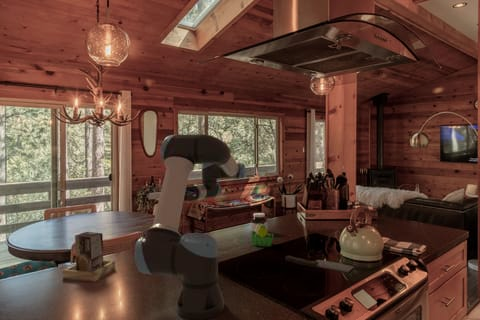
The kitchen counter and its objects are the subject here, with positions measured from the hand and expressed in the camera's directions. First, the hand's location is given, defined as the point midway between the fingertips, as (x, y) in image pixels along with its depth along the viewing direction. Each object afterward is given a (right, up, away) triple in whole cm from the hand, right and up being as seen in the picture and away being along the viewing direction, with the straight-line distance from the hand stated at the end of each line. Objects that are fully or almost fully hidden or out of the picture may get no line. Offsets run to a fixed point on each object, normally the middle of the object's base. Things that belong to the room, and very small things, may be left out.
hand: (157, 197), depth 146 cm
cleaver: (+71, -30, -1) cm, 77 cm away
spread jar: (+48, -27, +51) cm, 76 cm away
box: (-26, -30, -9) cm, 41 cm away
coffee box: (-26, -30, -9) cm, 41 cm away
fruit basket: (+48, -28, +29) cm, 63 cm away
